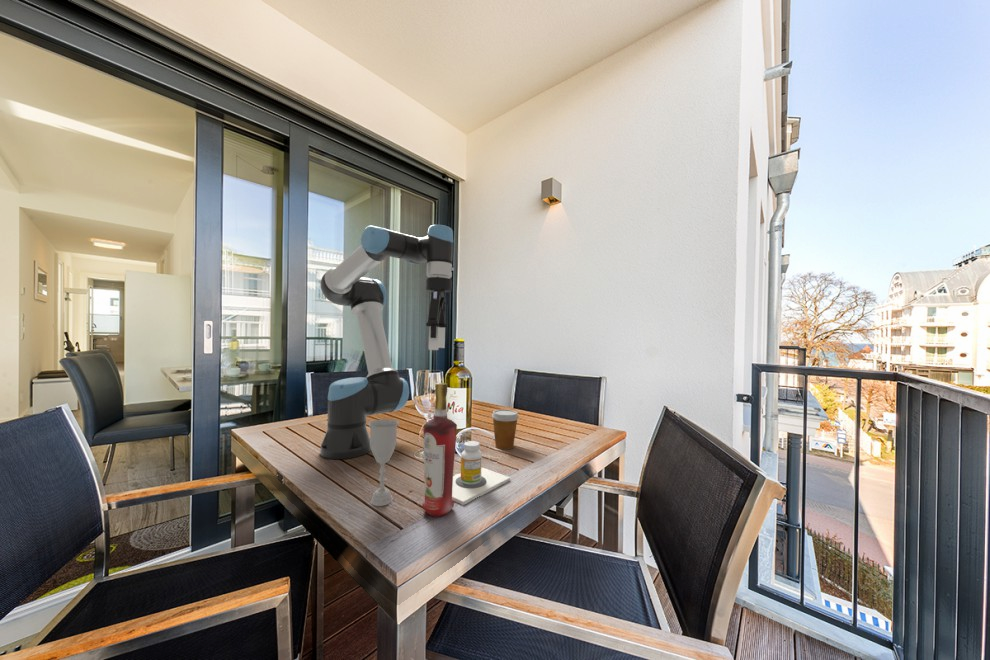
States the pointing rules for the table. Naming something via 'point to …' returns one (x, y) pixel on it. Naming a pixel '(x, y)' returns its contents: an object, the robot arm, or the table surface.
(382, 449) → the chalice
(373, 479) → the table surface
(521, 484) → the table surface
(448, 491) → the liquor
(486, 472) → the cream rectangular slab
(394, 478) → the table surface
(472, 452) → the supplement bottle
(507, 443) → the disposable coffee cup
